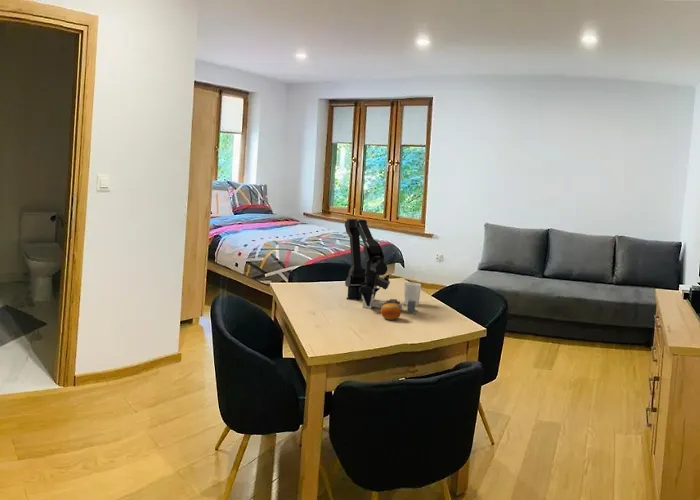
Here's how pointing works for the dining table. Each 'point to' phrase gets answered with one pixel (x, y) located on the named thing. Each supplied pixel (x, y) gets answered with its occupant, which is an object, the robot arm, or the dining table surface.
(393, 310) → the fruit
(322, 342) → the dining table surface
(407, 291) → the white cup
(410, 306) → the telltale
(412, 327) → the dining table surface
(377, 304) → the grey bar
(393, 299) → the housing
